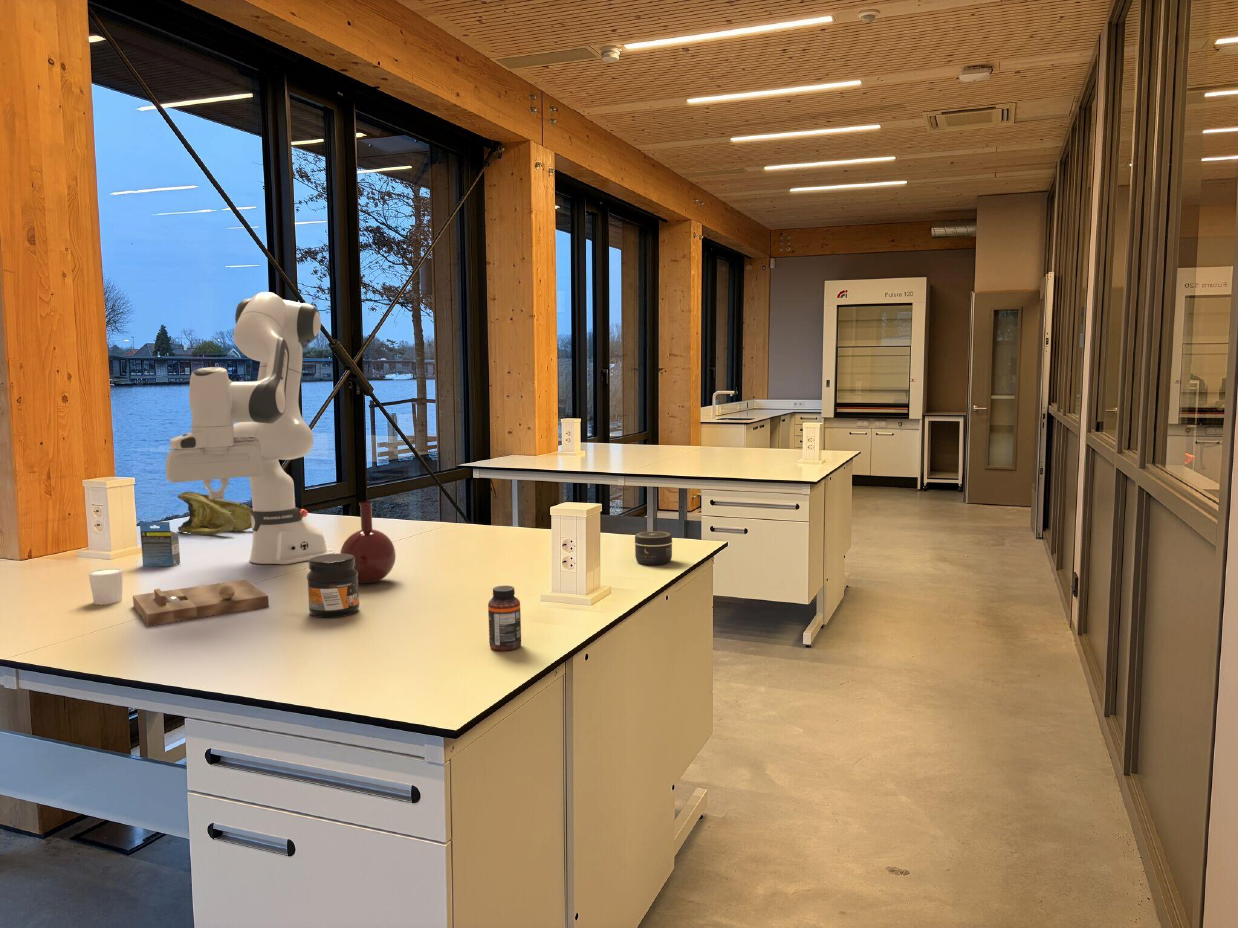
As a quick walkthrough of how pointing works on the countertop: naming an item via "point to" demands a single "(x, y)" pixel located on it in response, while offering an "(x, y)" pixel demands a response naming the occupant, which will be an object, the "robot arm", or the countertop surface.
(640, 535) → the jar
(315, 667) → the countertop surface
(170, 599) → the steel ball
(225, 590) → the cork ball
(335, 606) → the supplement container
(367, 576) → the round-bottom flask
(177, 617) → the board
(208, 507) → the crocodile head
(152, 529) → the label tape cartridge
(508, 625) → the supplement bottle
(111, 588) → the white cup
